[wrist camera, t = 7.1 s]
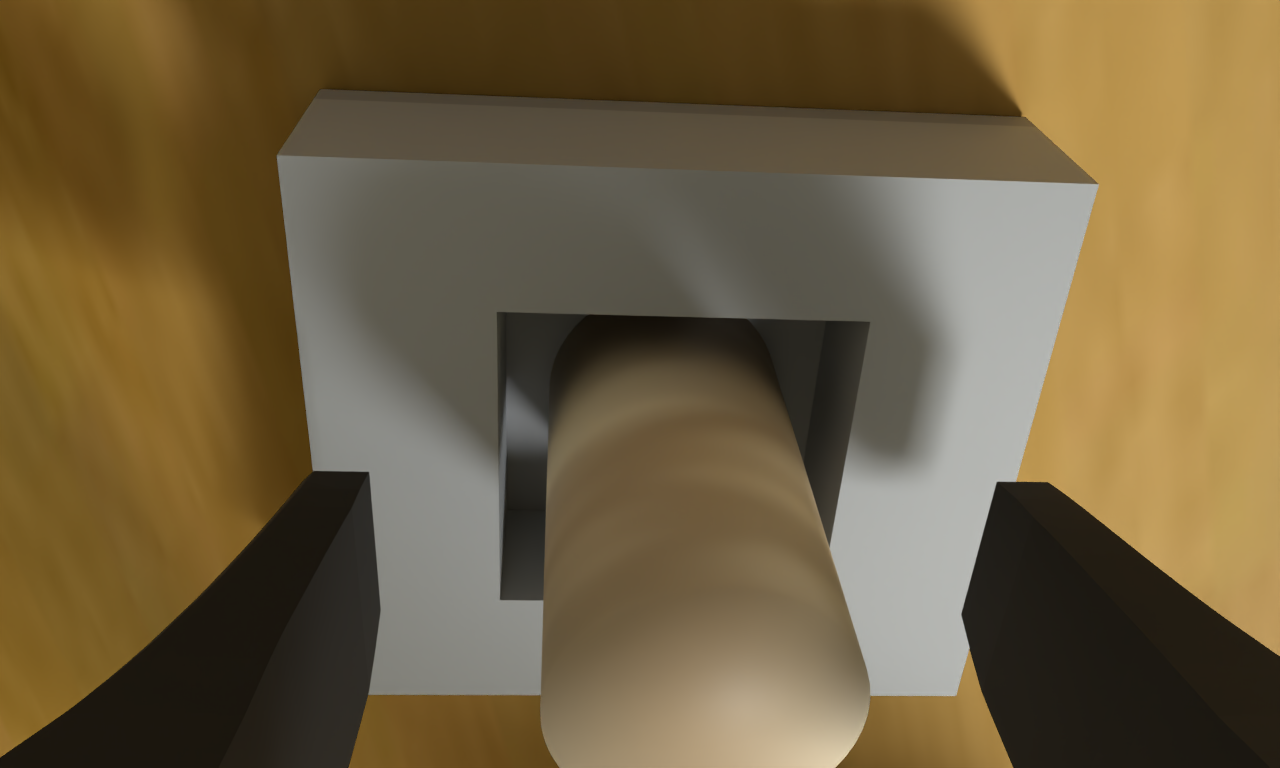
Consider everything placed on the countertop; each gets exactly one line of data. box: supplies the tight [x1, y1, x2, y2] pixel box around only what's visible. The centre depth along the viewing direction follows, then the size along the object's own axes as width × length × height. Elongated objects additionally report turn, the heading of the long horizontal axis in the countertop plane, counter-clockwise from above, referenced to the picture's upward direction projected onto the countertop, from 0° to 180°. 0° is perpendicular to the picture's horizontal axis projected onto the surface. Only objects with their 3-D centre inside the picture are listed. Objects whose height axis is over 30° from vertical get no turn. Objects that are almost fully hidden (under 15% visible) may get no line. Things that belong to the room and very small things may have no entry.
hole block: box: [277, 89, 1099, 696], centre depth 15 cm, size 9×8×2 cm
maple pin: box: [540, 314, 870, 768], centre depth 13 cm, size 3×3×6 cm
